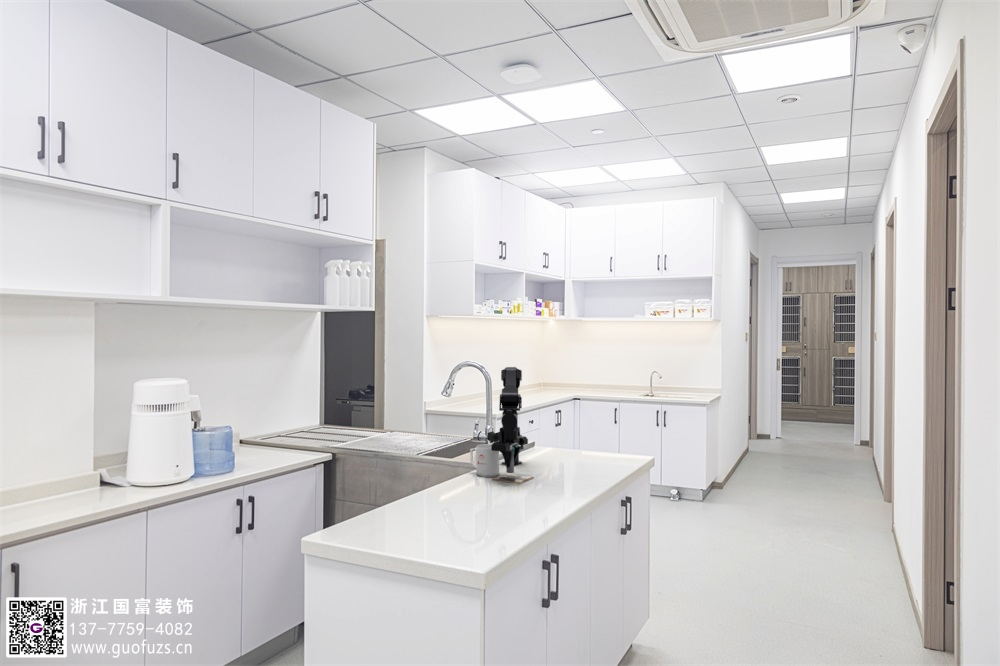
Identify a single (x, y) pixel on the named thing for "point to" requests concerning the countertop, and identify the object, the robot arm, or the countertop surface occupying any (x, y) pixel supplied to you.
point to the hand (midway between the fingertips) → (510, 466)
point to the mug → (485, 460)
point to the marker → (511, 465)
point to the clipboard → (513, 478)
